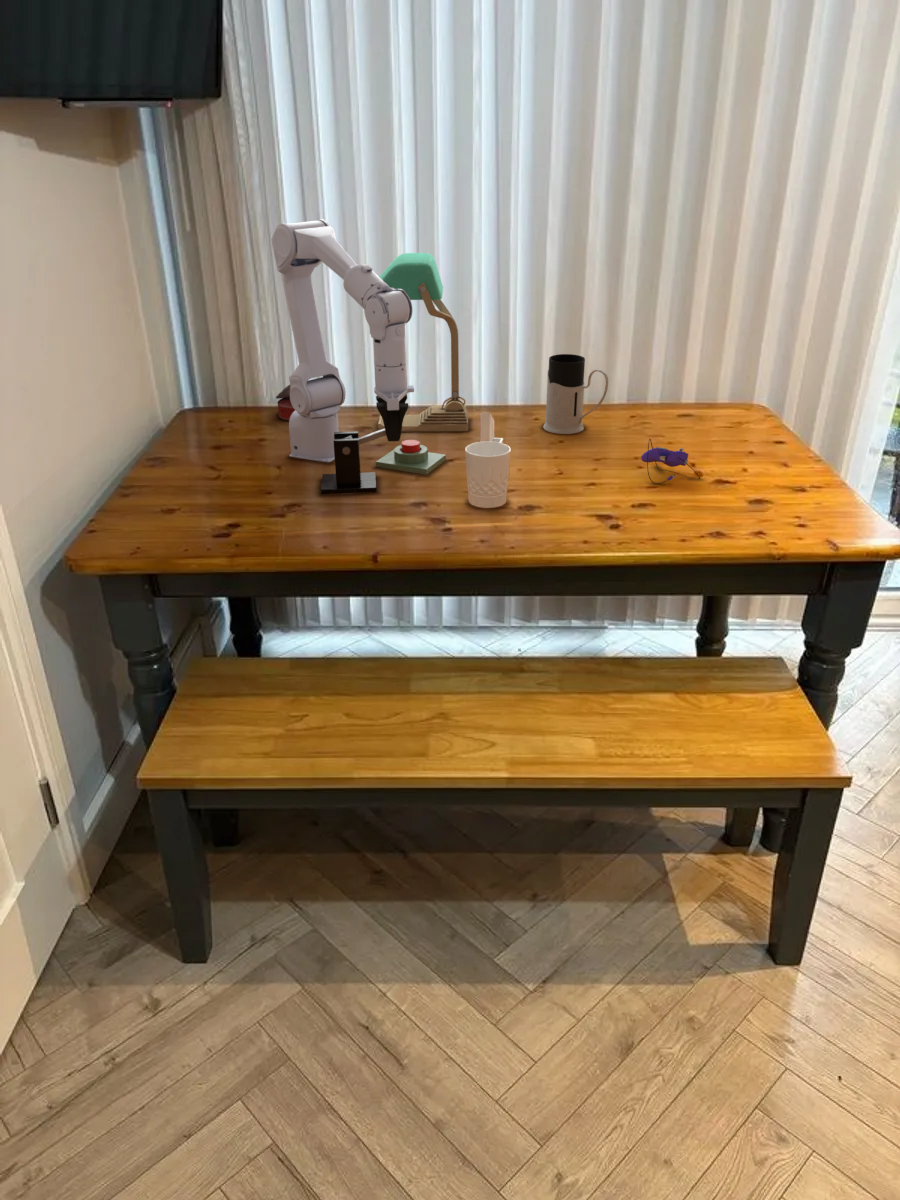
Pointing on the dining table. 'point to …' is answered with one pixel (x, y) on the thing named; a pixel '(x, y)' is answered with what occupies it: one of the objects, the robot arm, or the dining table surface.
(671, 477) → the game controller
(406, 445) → the button
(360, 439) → the lever
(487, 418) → the white wedge bracket
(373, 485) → the switch bracket
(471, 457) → the white cup
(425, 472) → the switch box
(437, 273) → the banker's lamp
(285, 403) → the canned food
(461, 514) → the dining table surface
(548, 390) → the glass holder
